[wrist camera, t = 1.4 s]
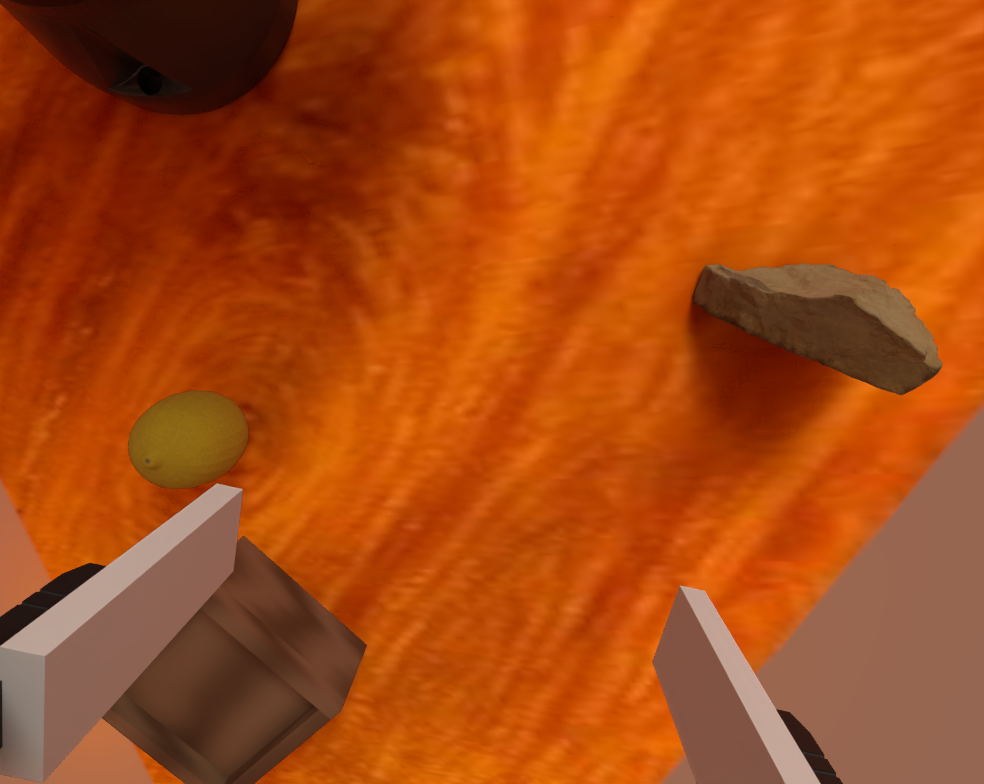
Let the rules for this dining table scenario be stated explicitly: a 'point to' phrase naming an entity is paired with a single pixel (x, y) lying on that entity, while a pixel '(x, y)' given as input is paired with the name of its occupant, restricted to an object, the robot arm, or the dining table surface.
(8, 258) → the dining table surface
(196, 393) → the lemon
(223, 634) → the walnut block
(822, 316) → the rock
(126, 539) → the dining table surface
